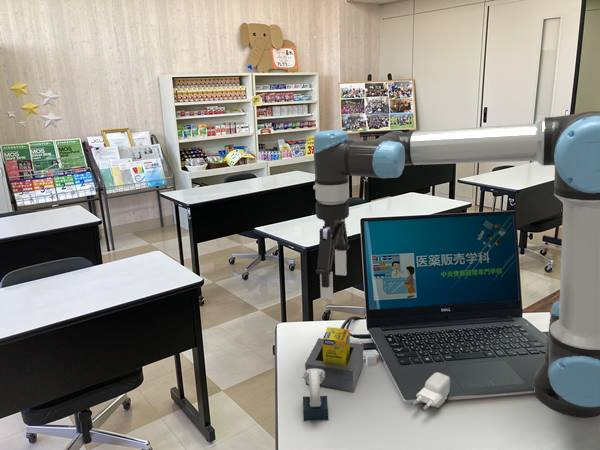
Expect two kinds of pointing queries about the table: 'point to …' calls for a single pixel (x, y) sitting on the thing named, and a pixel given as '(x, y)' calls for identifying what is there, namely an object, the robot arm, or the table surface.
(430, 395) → the power adapter
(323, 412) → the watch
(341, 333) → the supplement box
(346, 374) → the hollow block
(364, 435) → the table surface
